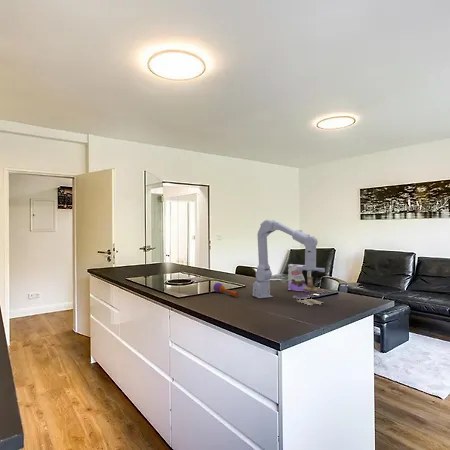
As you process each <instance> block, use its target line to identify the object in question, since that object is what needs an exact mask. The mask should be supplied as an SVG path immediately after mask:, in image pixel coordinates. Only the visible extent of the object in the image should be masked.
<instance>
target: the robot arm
mask: <svg viewBox="0 0 450 450" xmlns="http://www.w3.org/2000/svg"><path fill="white" fill-rule="evenodd" d="M275 231H280V232H283V233H285V234H287V235H289V236H291V237H292V240H294V241H296V242H298V243H300V244H302V245H303V246H304V247H305V248H304V249H305V250H304V265H305V267H296V271H302V274H303V276H304V279H305V283H306V285H307V272H308V271H311V272H312V273H313V274H312V275H313V276H312V277H313V286H314V287H316V286H315V285H316V281H317V277H318V275H319V273H325V271H326V270H325V269H326V268H325V267H317V245H318V239H317V238H316V237H315V236H311V235H310V234H308V233H305V232H303V230H302V229H295V230H294V229H292V228H290V227H289V226H287V225H285V224H283V223H282V222H279V221H276V220H275V219H274V220H273V219H272V220H269V219H266V220H263V221H262V222H261V223H260V227H259V229H258V232H257V235H256V236H257V255H258V256H257V257H258V265H257V267H256V272H255V279H256V280H255V281H254V282H253V283H252V295H251V296H252V297H255V298H258V299H264V298H265V299H266V298H273V297H274V296H273V295H270V294H271V280H270V279H272V276H273V272H272V270H271V267H270V264H269V259H268V257H269V256H268V236H270V234H271V233H274V232H275Z"/></svg>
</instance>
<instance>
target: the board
mask: <svg viewBox="0 0 450 450" xmlns="http://www.w3.org/2000/svg"><path fill="white" fill-rule="evenodd" d="M296 302H297V303H300V302H301V303H300V304H302V303H304V304H303V305H305V304H307V305H306V306H308V305H310V306H314V305H313V304H319V305H322V304H321V303H324V302H323V301H320V300H316V299H312V298H311V299H304V300H298V299H296Z"/></svg>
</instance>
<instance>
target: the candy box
mask: <svg viewBox="0 0 450 450" xmlns="http://www.w3.org/2000/svg"><path fill="white" fill-rule="evenodd" d="M296 267H305V264H293V263H290V264H287V291H288V290H292V291H291V292H297V291H305V290H304V289H303V286H307V285H306V283H305V279H304V276H303V274H302V271H296ZM307 277H312V271H308V272H307ZM306 292H309V291H305V292H304V293H306ZM309 293H310V292H309Z"/></svg>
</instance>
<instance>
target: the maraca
mask: <svg viewBox="0 0 450 450" xmlns="http://www.w3.org/2000/svg"><path fill="white" fill-rule="evenodd" d="M213 290H214V291H213V292H215V293H224V292H226V293H228V294H229V295H230V296H232V297H234V298H238V297H239V296H240V293H239V292H238V291H236V290H230V289H227V288H226V287H225V286H224V285H223V283H221V282H216V283H214V285H213Z"/></svg>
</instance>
